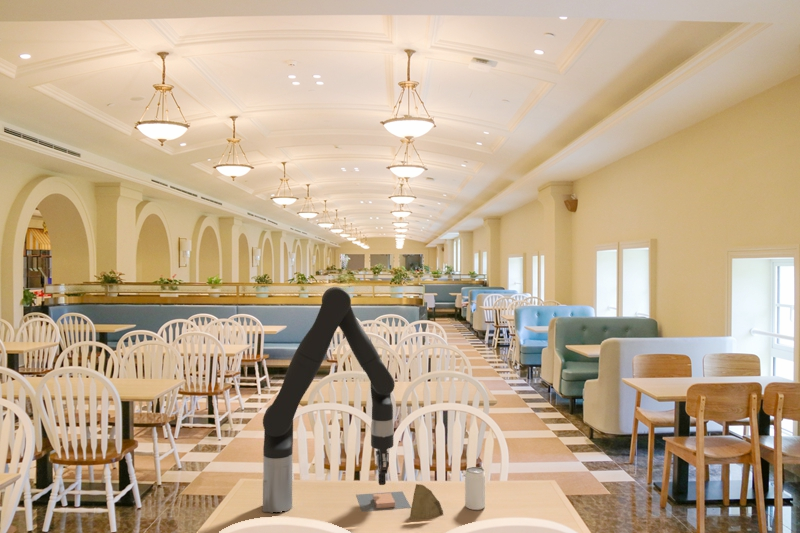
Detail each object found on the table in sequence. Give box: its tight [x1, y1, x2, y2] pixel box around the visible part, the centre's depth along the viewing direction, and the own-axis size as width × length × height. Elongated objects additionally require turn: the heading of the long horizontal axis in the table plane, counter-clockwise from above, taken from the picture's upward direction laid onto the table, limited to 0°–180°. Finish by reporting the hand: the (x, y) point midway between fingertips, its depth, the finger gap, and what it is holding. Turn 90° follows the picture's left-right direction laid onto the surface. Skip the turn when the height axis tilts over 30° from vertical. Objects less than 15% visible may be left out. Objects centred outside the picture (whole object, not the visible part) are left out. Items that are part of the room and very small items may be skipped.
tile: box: [372, 492, 395, 508], centre depth 192 cm, size 6×2×8 cm
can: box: [464, 466, 486, 511], centre depth 191 cm, size 6×6×12 cm
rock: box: [409, 483, 444, 520], centre depth 183 cm, size 11×9×10 cm
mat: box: [355, 491, 412, 513], centre depth 194 cm, size 16×14×1 cm
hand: (382, 484), depth 196 cm, fingers closed
